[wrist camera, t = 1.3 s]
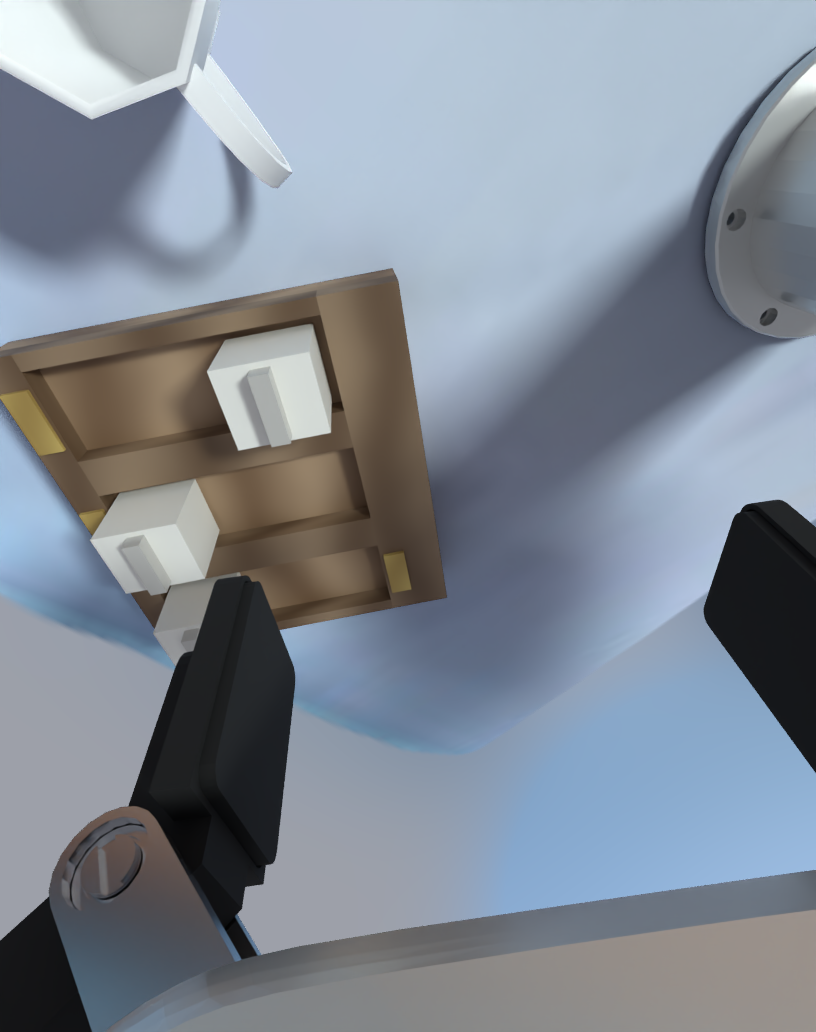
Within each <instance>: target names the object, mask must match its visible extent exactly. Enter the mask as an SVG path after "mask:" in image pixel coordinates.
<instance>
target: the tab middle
mask: <svg viewBox="0 0 816 1032" xmlns="http://www.w3.org/2000/svg"><path fill="white" fill-rule="evenodd" d="M219 531H220V530H219V528H218V526H217V524H216V522H215V520H214V517H213V515H212V513H211V511H210V509H209V507H208V505H207V503H206V501H205V498H204V496H203V494H202V492H201V490H200V488H199V486H198V484H197V482H196V480H195V478H194V479H189V480H184V481H179V482H173V483H168V484H163V485H158V486H153V487H147V488H142V489H137V490H132V491H127V492H122V493H119V495H118V496H117V498H116V499H115V501H114V503H113V504H112V506H111V507H110V509H109V511H108V512H107V514H106V515H105V517H104V519H103V520H102V522H101V523H100V525H99V527H98V528H97V530H96V531H95V533H94V535H93V536H92V538H91V539H90V541H91V543H92V544H93V546H94V547H95V548H96V550H97V551H98V553H99V554H100V556H101V557H102V559H103V560H104V562H105V563H106V565H107V566H108V568H109V569H110V571H111V572H112V574H113V575H114V576H115V578H116V579H117V581H118V582H119V584H120V585H121V587H122V588H123V590H124V591H125V593H126V594H128V593H133V592H139V591H144V590H148V592H149V593H150V595H157V594H162V593H167V591H168V589H169V586H170V585H175V584H180V583H185V582H190V581H196V580H201V579H205V577H206V574H207V570H208V567H209V564H210V561H211V557H212V554H213V551H214V547H215V544H216V541H217V538H218V534H219Z"/></svg>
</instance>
